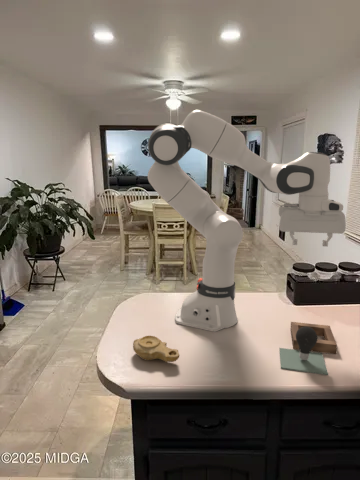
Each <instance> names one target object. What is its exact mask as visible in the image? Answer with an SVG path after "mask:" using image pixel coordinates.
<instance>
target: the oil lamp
mask: <svg viewBox="0 0 360 480" xmlns="http://www.w3.org/2000/svg"><path fill="white" fill-rule="evenodd" d="M132 349H133V352H134V353H135V354H136V355H137V356H139V357H140V358H141V359H142V358H143V359H142V360H145V359H146V360H145V361H153V360H158V359H159V360H161V361H163V362H165V363H174V362H176V361H178V360H179V358H180V352H179V349H177V348H176V349H175V348H170V347H167V342H166V341H162V340H161V339H160V338H158V337H157V336H155V335H145V336H143V337H140V338H136V339H134V340H133V342H132ZM152 359H153V360H152Z"/></svg>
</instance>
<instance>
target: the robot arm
mask: <svg viewBox="0 0 360 480" xmlns="http://www.w3.org/2000/svg"><path fill="white" fill-rule="evenodd" d="M147 143H148V144H147V149H148V152H149V155H150V157H151V159H152V160H153V161H154V162H153V163H152V164H151V166H150V168H149V170H148V173H147V180H148V183H149V184H150V185H151V186H152V188H153V189H154V191H155V192H156V193H157V194H158V195H159V197H161V198H162V199H163V200H164V201H165V202H166V203H167V204H168V205H169V206H170V207H171V208H173V209H174V210H175V212H177V213H178V214H179V215H180V216H181V217H182V218H183V219H184V220H185V221H187V223H188V224H189V225H191V226H192V228H194V229H195V230H196V231H197V232H198V233H199V234H200V235H201V236H202V237H203V238H204V239H205V240H206V243H205V244H206V245H205V253H204V256H203V259H202V277H199V278H198V280H197V283H196V290H195V291H194V292H192V293H191V294H189V295H187V296H186V297H185V298H184V300H183V301H182V305H181V307H179V309H178V310H177V311H176V312H175V316H174V322H175V324H178V325H181V326H182V325H183V326H187V327H192V328H196V329H201V330H206V331H210V332H218V331H220V330H223V329H227V328H230V327H233V326H234V325H236V324H237V323H238V320H239V319H238V317H237V311H236V305H235V299H236V282H235V267H236V266H235V264H236V256H237V252H238V248H239V246H240V244H241V243H242V241H243V238H244V230H243V227H242V225H241V224H240V222H239V221H238V220H237V218H235V217H233V216H232V215H230V214H227V213H226V212H225V211H223V210H222V209H221V208H220V207H219V206H218V205H217V204H216V203H215V201H214V200H213V199H212V198H211V196H209V195H208V193H207V192H206V191H205V189H203V188H202V187H201V186H200V185H199V184H198V183H197V182H196V181H195V180H194V179H192V178H191V176H189V175H188V174H187V173H186V172H185V171H184V170H183V169H182V167H181V166H180V163H179V161H180V160H181V159H182V158H183V157H184V156H185V155H186V154H187V153H188V152H189V151H190V150H191V149H195V150H197V151H200V152H202V153H203V154H205V155H207V156H209V157H210V158H212V159H214V160H217V161H219V162H221V163H225V164H229V165H233V166H236V167H238V168H240V169H242V170H243V171H245V172H247V173H249V174H250V175H252V176H254V178H256V179H257V180H258V181H260V183H261V184H262V186H263V187H264V188H265V190H267V191H268V192H270V193H275V194H282V195H287V196H292V195H296V194H298V203H284V204H282V205H280V206H279V208H278V215H279V217H280V218H279V222H278V223H279V225H278V229H279V231H280V232H283V233H285V232H287V233H288V232H289V236H290V238H291V240H292V246H297V245H298V238H295V237H294V235H295V233H311V234H312V233H315V234H316V233H317V234H326V236H327V237H326V238H325V240H324V239H323V240H322V243H321V244H322V247H328V246H329V242H330V241H331V239H332V238H333V235H334V234H338V235H340V234H344V233H346V230H347V229H346V216H345V213H344V212H343V210H344V205H343V203H341V202H339V201H336V200H334V199H329V189H328V188H329V187H328V186H329V184H330V181H331V161H330V157H329V156H328V155H327V154H325V153H322V152H317V151H316V152H314V151H307V152H306V151H305V152H304V153H303V154H301V156H299V157H298V158H296V159H294V160H292V161H289V162H287V163H279V162H271V161H268V160H266V159H264V158H263V157H262V156H260V155H258V154H257V153H255V152H253V151H252V150H250V148H249V147H248V146H247V144H246V143H247V141H246V137H245V135H244V133H242V132H241V131H240V130H239V129H238V128H237V127H235V126H234V125H233V124H231V123H229V122H227V120H224V119H223V118H221V117H219V116H217V115H214V114H212V113H209V112H206V111H204V110H201V109H195V110H192V111H190V112H189V113H188V114H187V116H185V118H184V119H183V122H182V123H181V124H179V125H177V124H176V123H173V122H163V123H160V124H159V125H157V126H156V127H155V128H154V129H153V131H151V134H150V136H149V139H148V142H147Z"/></svg>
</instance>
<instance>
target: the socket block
mask: <svg viewBox="0 0 360 480" xmlns="http://www.w3.org/2000/svg"><path fill="white" fill-rule="evenodd" d="M305 326H306V327H310V328H312V329H313V330H314V331H315V332H316V334H317V337H323V339H318V338H317V342H316V344H315V346H314V347H313V348H312V349H311V351H310V352H318V353H322V354H323V353H325V354H331V355H337V350H338V344H337V341H336V339H335V336H334V334H333V331H332V329H331V326H330V325H327V324H316V323H307V322H298V321H297V322H296V321H290V328H289V329H290V337H291V344H292V349H293V350H299V345H298V343H297V340H296V333H297V331H298V329H300V328H301V327H305Z"/></svg>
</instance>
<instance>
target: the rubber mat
mask: <svg viewBox="0 0 360 480" xmlns="http://www.w3.org/2000/svg"><path fill="white" fill-rule="evenodd" d="M299 354H300V350H298V349H293V348H292V349H291V348H284V347H279V359H280V360H279V361H280V362H279V363H280V369H281V370H288V371H295V372H303V373H308V374H309V373H310V374H311V373H312V374H316V375H325V376H329V372H328V368H327V365H326V362H325V358H324V355H323V353H322V352H314V351H310V353H309V358H308V360H305V361H302V359H301V358H300V357H299Z"/></svg>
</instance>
